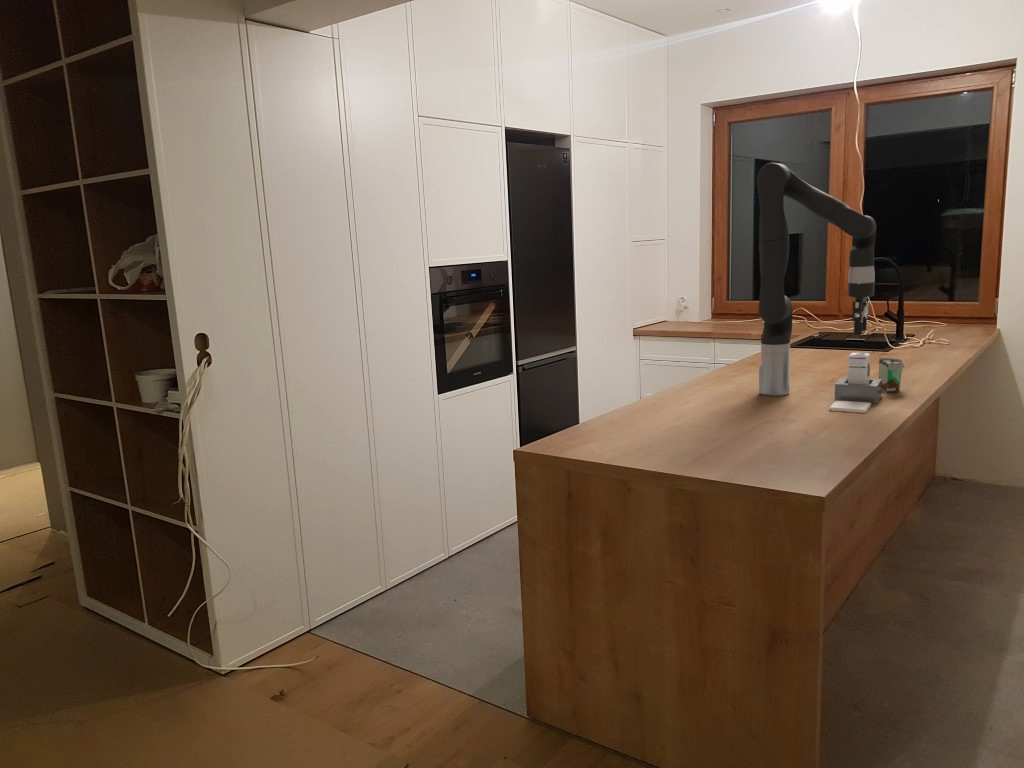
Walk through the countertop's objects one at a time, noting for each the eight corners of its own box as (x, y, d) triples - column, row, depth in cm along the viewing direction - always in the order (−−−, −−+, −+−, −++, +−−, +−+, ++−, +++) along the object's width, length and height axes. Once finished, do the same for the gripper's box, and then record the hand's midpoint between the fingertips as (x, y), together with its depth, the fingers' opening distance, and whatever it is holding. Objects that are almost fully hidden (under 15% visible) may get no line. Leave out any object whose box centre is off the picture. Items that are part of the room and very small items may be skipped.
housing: (834, 401, 242) (835, 384, 241) (841, 393, 252) (842, 377, 251) (875, 403, 236) (876, 386, 235) (881, 395, 245) (882, 379, 244)
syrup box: (867, 401, 240) (868, 355, 237) (846, 399, 243) (848, 354, 240) (869, 397, 245) (871, 352, 242) (849, 396, 248) (850, 352, 245)
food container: (908, 394, 246) (909, 363, 244) (887, 394, 247) (888, 363, 245) (897, 386, 258) (898, 357, 256) (877, 386, 259) (878, 357, 257)
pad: (829, 410, 231) (829, 407, 230) (835, 403, 239) (835, 400, 239) (865, 413, 225) (865, 409, 225) (870, 405, 233) (870, 402, 233)
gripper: (852, 279, 245) (851, 329, 248) (844, 283, 233) (843, 335, 236) (877, 279, 241) (876, 330, 244) (870, 282, 229) (869, 336, 232)
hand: (860, 332), depth 240 cm, fingers open, 8 cm apart
